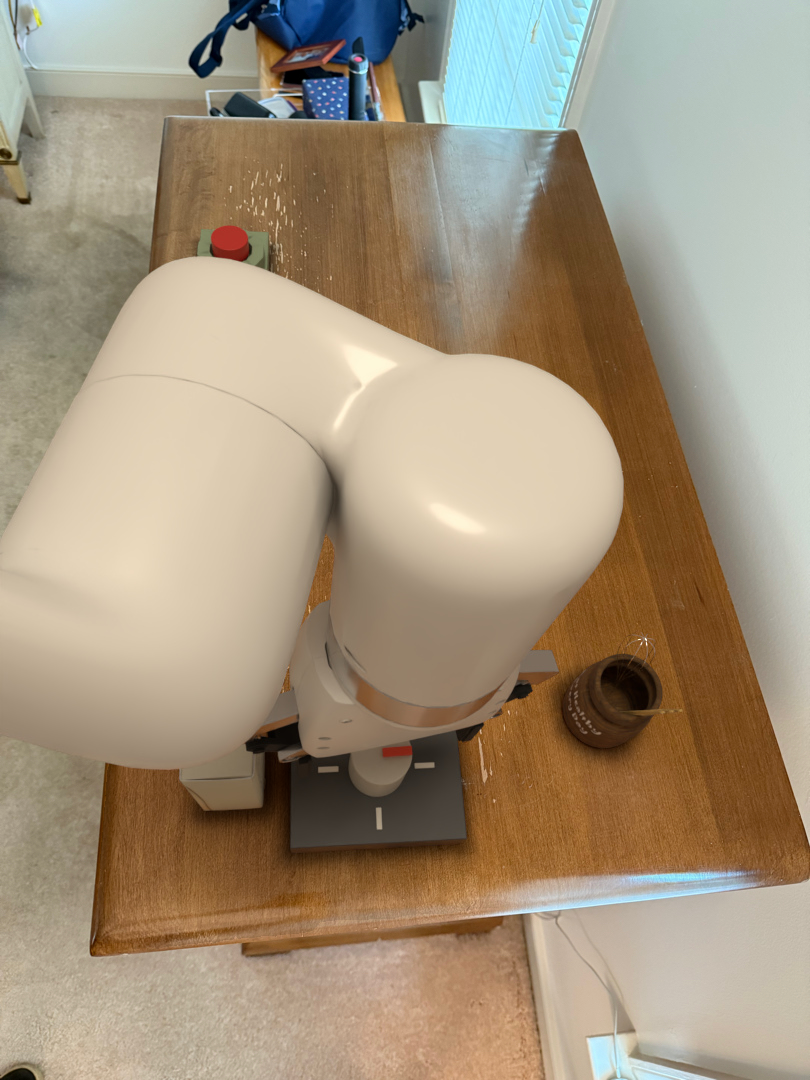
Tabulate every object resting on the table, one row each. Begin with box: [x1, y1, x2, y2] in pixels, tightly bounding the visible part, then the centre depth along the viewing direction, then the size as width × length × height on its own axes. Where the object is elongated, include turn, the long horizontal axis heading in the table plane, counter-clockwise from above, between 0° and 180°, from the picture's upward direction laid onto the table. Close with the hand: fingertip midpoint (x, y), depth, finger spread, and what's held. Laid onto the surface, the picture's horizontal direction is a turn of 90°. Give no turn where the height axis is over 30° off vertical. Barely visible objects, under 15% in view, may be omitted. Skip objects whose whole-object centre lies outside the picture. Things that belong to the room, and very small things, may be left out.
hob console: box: [289, 730, 468, 854], centre depth 53 cm, size 12×10×3 cm
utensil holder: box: [562, 630, 684, 749], centre depth 53 cm, size 6×6×12 cm
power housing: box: [196, 227, 271, 271], centre depth 75 cm, size 7×10×4 cm
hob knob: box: [349, 741, 412, 797], centre depth 50 cm, size 4×4×5 cm
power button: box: [211, 224, 249, 262], centre depth 73 cm, size 4×4×2 cm
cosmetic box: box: [178, 744, 266, 812], centre depth 48 cm, size 6×4×12 cm
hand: (380, 733), depth 44 cm, fingers open, 9 cm apart
